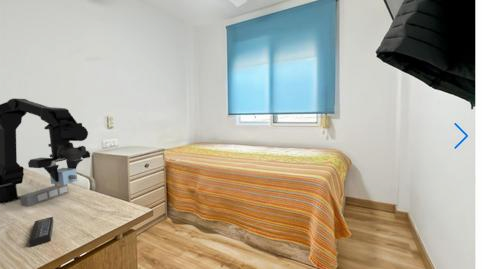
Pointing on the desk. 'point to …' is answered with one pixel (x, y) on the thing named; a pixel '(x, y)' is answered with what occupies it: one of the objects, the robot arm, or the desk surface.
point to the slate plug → (65, 176)
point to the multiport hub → (41, 232)
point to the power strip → (43, 194)
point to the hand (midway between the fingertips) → (64, 179)
